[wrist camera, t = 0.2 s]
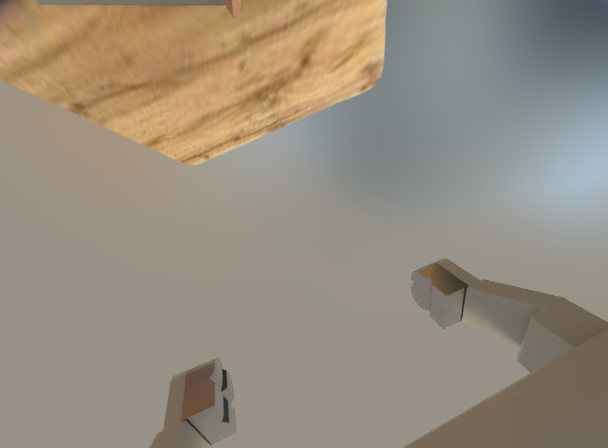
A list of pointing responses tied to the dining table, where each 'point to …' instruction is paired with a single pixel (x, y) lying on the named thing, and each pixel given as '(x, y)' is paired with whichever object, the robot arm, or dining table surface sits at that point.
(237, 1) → the lid
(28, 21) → the dining table surface
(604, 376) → the robot arm
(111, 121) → the dining table surface
